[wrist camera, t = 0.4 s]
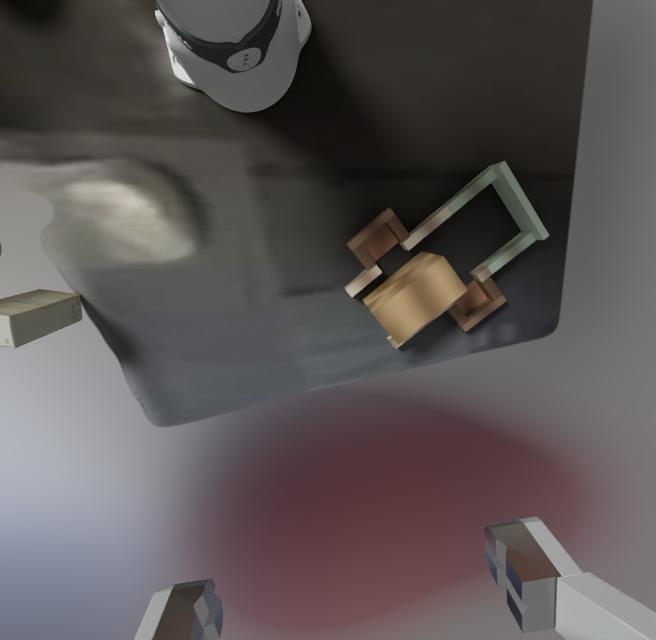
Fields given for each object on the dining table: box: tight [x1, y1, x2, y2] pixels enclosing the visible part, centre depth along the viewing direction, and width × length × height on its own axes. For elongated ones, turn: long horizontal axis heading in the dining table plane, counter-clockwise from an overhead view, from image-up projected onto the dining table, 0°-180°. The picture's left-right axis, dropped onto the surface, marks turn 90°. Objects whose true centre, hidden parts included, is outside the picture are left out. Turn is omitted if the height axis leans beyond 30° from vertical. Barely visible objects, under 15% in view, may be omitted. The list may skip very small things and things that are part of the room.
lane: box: [344, 168, 536, 349], centre depth 50 cm, size 27×23×2 cm
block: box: [362, 251, 468, 345], centre depth 48 cm, size 12×6×9 cm, turn 130°
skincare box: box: [0, 289, 82, 348], centre depth 44 cm, size 6×4×12 cm
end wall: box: [485, 161, 549, 240], centre depth 48 cm, size 1×13×4 cm, turn 40°
